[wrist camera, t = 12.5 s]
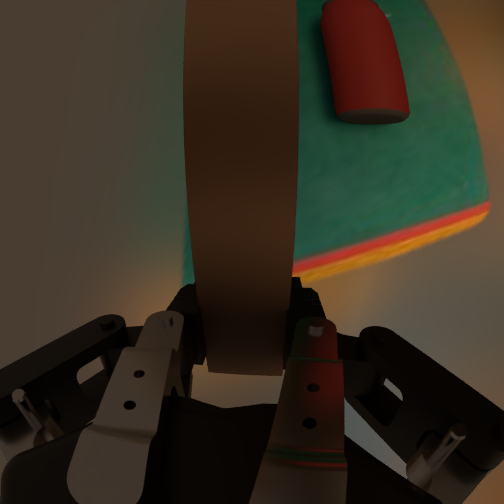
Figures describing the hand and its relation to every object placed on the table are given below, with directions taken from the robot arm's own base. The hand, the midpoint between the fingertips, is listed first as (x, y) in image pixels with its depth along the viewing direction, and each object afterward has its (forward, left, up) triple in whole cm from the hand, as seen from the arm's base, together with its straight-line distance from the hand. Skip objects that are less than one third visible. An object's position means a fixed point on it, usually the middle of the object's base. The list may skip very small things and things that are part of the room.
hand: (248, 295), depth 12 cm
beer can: (-10, +10, -11) cm, 18 cm away
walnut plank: (-7, 0, 0) cm, 7 cm away
